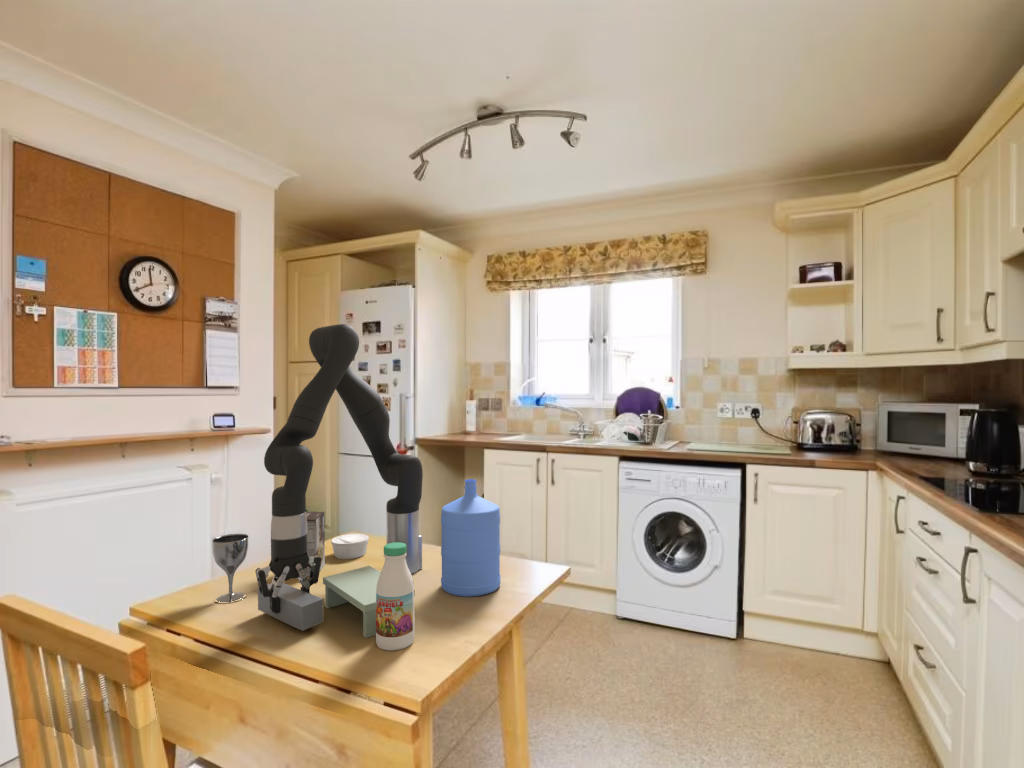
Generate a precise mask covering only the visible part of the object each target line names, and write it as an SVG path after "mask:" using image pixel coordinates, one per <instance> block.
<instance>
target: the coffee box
mask: <svg viewBox="0 0 1024 768" xmlns="http://www.w3.org/2000/svg"><path fill="white" fill-rule="evenodd" d="M306 518H307V526H308V530H307V554H308V556H309V557H311V556H314V555H317V556H319V557H321V559H322V560H321V566H320V571H322V569H323V568H324V566H325V565H326V563H325V562H326V559H325V558H326V554H325V553H326V552H325V551H326V547H325V546H326V544H325V542H326V541H325V539H326V538H325V536H326V534H325V531H326V529H325V527H326V525H325V518H326V517H325V511H306ZM310 569H311V565H310V564H309V562H308V564H307V566H306V567H305V569H304V572H305V574H306V576H307V577H309V575H310Z"/></svg>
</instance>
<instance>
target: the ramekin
mask: <svg viewBox="0 0 1024 768" xmlns="http://www.w3.org/2000/svg"><path fill="white" fill-rule="evenodd" d="M369 540H370V537H369V536H368V535H367V534H363V533H346V534H341V535H338V536H335V537H333V538H332V539H331V541H330V543H331V546H332V550H333V555H334V557H335V558H336V559H339V560H353V559H358V558H361V557H363V556H364V555H365V554H366V553H367V549H368V542H369Z"/></svg>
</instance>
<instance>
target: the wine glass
mask: <svg viewBox="0 0 1024 768" xmlns="http://www.w3.org/2000/svg"><path fill="white" fill-rule="evenodd" d="M211 542H212V545H211V546H212V554H213V555H212V556H213V558H214V562H215V564H216V565H217V566H218V567H219V568H221V569H222V571H224V573H225V574H226V576H227V579H228V580H227V581H228V582H227V583H228V593H225V594H221V595H219V596H220V597H219V596H218V598H217V597H216V598H217V599H216V598H215V599H216V600H217V601H218V602H219V601H220V602H231V601H235V600H238V599H241V598H243V596H244V595H245V594H246V593H245V592H242V593H241V591H237V592H236V591H235V592H234V593H233V591H234V590H233V581H234V575H235V574H236V571H237V570H238V568H239V567H240V566H241V565H242V564H243V563H244V561H245V560H246V557H247V554H248V550H249V535H248V534H246V533H230V534H224V535H220V536H219V535H218V536H216V537H213V539H212V541H211ZM244 593H245V594H244Z"/></svg>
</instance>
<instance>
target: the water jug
mask: <svg viewBox="0 0 1024 768" xmlns="http://www.w3.org/2000/svg"><path fill="white" fill-rule="evenodd" d="M500 524H501V512H500V506H499V505H498V504H496V503H494V502H492V501H490V500H487V499H485V498H483V497H481V496H480V495H478V494H477V479H473V478H469V479H464V495H462V496H461V497H459V498H457V499H455V500H453V501H450V502H448V503H447V504H445V505H443V506H442V507H441V515H440V525H441V545H440V555H441V577H440V583H441V584H440V585H441V588H442V590H444V591H445V592H446V593H447V594H450V595H453V596H455V597H456V596H457V597H463V598H464V597H467V598H470V597H473V596H474V597H479V596H480V597H481V596H485V594H486V595H488V593H489V594H491V593H493V592H495V591H497V589H498V588H499V587H500V585H501V578H502V577H501V573H500V572H501V571H500V568H501V567H500V565H501V564H500V562H501V561H500V558H501V557H500V556H501V543H500V542H501V537H500V535H501V534H500V530H501V529H500V527H501V525H500Z"/></svg>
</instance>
